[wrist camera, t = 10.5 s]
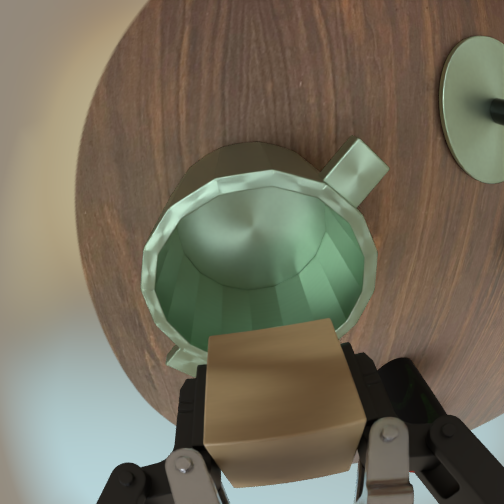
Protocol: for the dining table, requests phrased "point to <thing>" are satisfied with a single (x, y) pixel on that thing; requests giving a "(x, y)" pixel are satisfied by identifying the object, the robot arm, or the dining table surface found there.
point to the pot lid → (475, 107)
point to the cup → (409, 392)
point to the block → (281, 405)
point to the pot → (261, 246)
